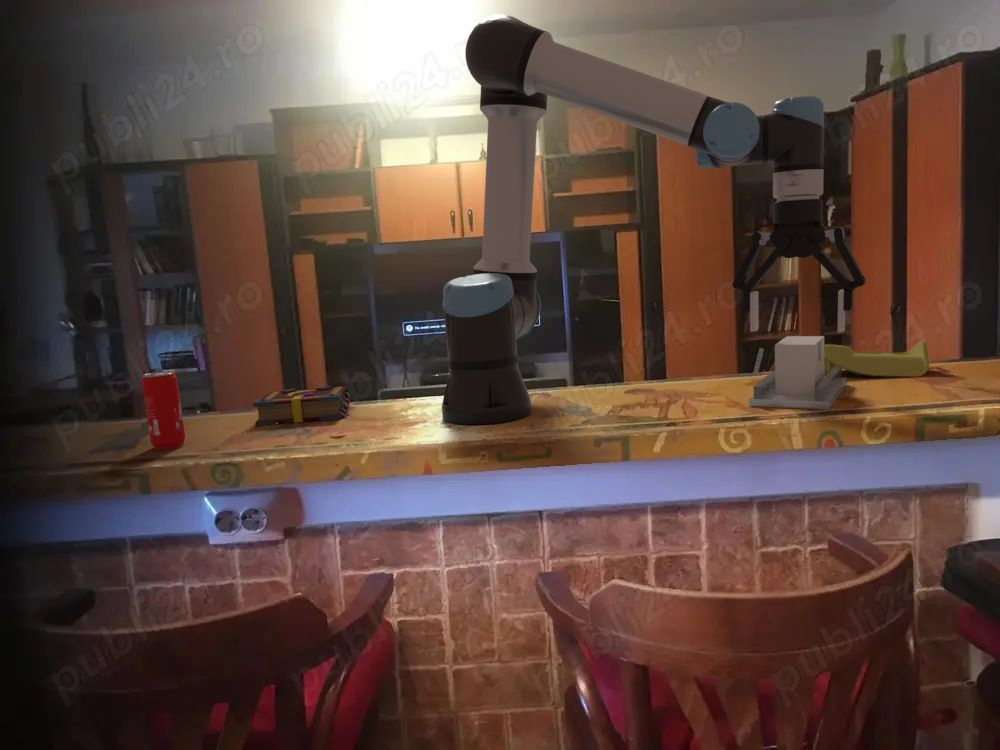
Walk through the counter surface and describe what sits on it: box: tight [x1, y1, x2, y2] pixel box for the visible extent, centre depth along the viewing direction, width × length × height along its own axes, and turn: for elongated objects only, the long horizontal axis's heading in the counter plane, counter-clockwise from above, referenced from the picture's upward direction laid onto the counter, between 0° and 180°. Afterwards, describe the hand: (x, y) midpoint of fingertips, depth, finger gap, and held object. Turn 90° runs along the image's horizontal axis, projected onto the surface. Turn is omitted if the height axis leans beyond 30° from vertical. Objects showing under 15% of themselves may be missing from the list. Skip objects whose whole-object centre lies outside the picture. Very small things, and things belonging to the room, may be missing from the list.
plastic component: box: [824, 340, 930, 378], centre depth 146 cm, size 20×7×10 cm
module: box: [774, 335, 826, 395], centre depth 130 cm, size 6×10×8 cm, turn 149°
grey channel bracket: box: [748, 366, 848, 410], centre depth 131 cm, size 12×20×3 cm, turn 149°
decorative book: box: [252, 385, 352, 426], centre depth 144 cm, size 11×16×5 cm
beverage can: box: [141, 370, 186, 451], centre depth 126 cm, size 5×5×12 cm
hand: (796, 331), depth 130 cm, fingers open, 13 cm apart
